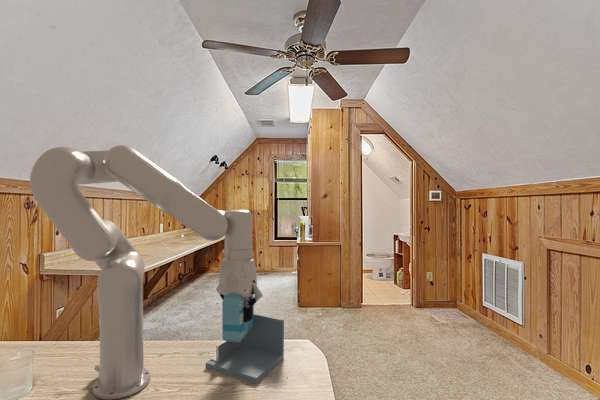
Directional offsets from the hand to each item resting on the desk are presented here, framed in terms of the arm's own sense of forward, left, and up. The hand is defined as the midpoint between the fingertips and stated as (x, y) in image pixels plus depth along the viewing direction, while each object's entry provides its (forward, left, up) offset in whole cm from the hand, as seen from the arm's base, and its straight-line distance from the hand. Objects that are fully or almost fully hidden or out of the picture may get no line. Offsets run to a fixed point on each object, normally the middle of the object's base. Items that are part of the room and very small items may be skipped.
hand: (238, 318), depth 94 cm
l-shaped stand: (+2, +1, -13) cm, 13 cm away
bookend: (-5, 0, -11) cm, 12 cm away
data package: (0, 0, -5) cm, 5 cm away
